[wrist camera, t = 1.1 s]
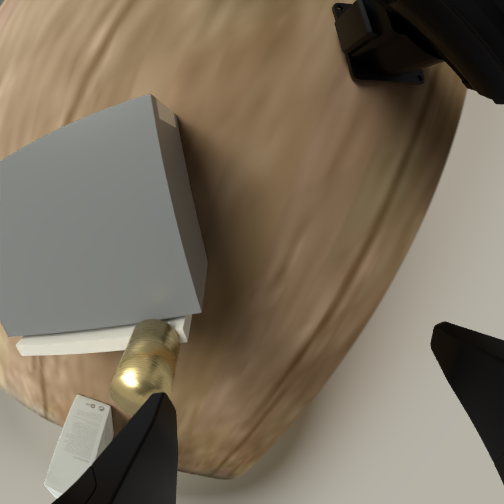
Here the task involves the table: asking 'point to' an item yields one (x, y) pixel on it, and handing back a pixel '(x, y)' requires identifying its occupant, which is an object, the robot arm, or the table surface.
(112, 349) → the side door
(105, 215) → the case
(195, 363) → the table surface
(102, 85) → the table surface
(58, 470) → the skincare box
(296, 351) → the table surface
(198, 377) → the table surface
